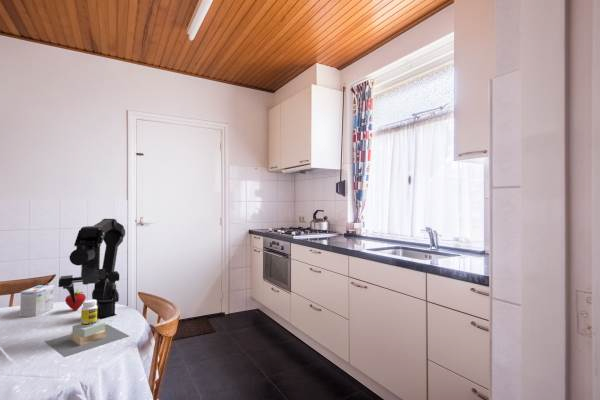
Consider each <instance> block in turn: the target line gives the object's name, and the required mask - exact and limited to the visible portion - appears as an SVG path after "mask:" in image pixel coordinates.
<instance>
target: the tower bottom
mask: <svg viewBox="0 0 600 400" xmlns="http://www.w3.org/2000/svg"><path fill="white" fill-rule="evenodd" d="M70 334H71V340H72V341H74V342H75V343H77V344H78V345H80V346H81V345H84V344H88V343H91V342H94V341H97V340H101V339H104V338H106V331H105V330H104V331H101V332H98V333H95V334H92V335H89V336H87V337H82V336H79V335H76V334H73V333H72V331H71V332H70Z"/></svg>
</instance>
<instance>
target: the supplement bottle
mask: <svg viewBox="0 0 600 400" xmlns="http://www.w3.org/2000/svg"><path fill="white" fill-rule="evenodd" d="M96 304H97V300H94V299H85V301H84V302H83V304H82V305H83V306H82V308H81V315H80V316H81V317H80V318H81V319H80V324H81V326H82V327H89V326H93V325H95V324H96V323H97V321H98V318H97V309H98V307H97V305H96Z"/></svg>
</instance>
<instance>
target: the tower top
mask: <svg viewBox="0 0 600 400" xmlns="http://www.w3.org/2000/svg"><path fill="white" fill-rule="evenodd" d="M105 325H106V322H103V321H98V320H97V323H96V324H95V325H93V326H89V327H82V326H81V323H77V324H75V325H72V327H71V328H72V329H71V332H72V333H73V334H76V335H79V336H82V337H87V336H89V335H92V334H95V333H98V332H101V331H104V330H105Z"/></svg>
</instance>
